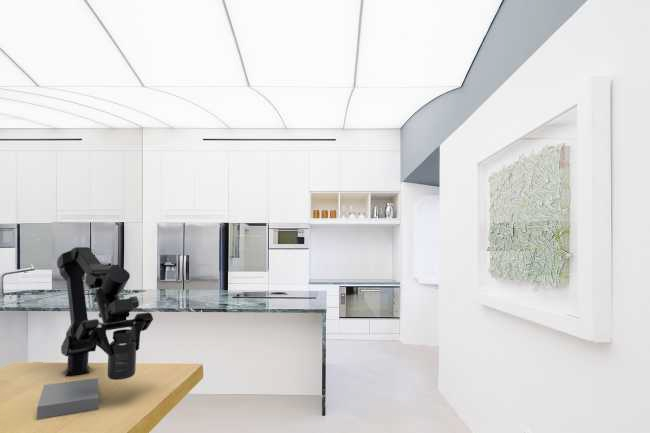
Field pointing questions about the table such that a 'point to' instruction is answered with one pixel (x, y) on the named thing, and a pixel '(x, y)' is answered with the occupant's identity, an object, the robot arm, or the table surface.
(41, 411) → the riser block
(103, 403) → the table surface
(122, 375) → the supplement bottle
